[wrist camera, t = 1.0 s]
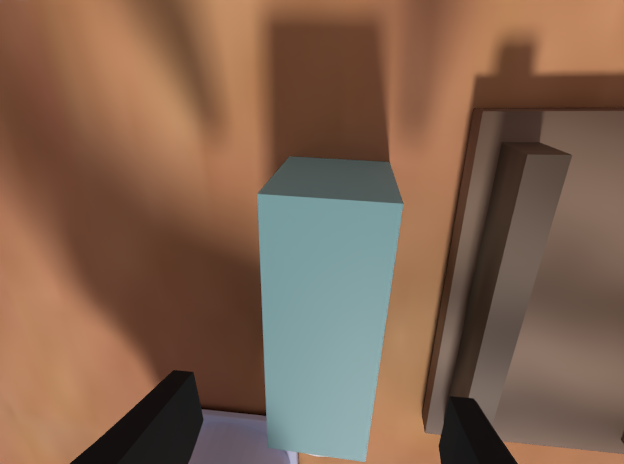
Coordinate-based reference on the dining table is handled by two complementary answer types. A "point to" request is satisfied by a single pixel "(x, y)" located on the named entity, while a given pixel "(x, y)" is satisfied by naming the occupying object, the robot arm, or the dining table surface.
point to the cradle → (537, 280)
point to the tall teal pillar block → (325, 299)
